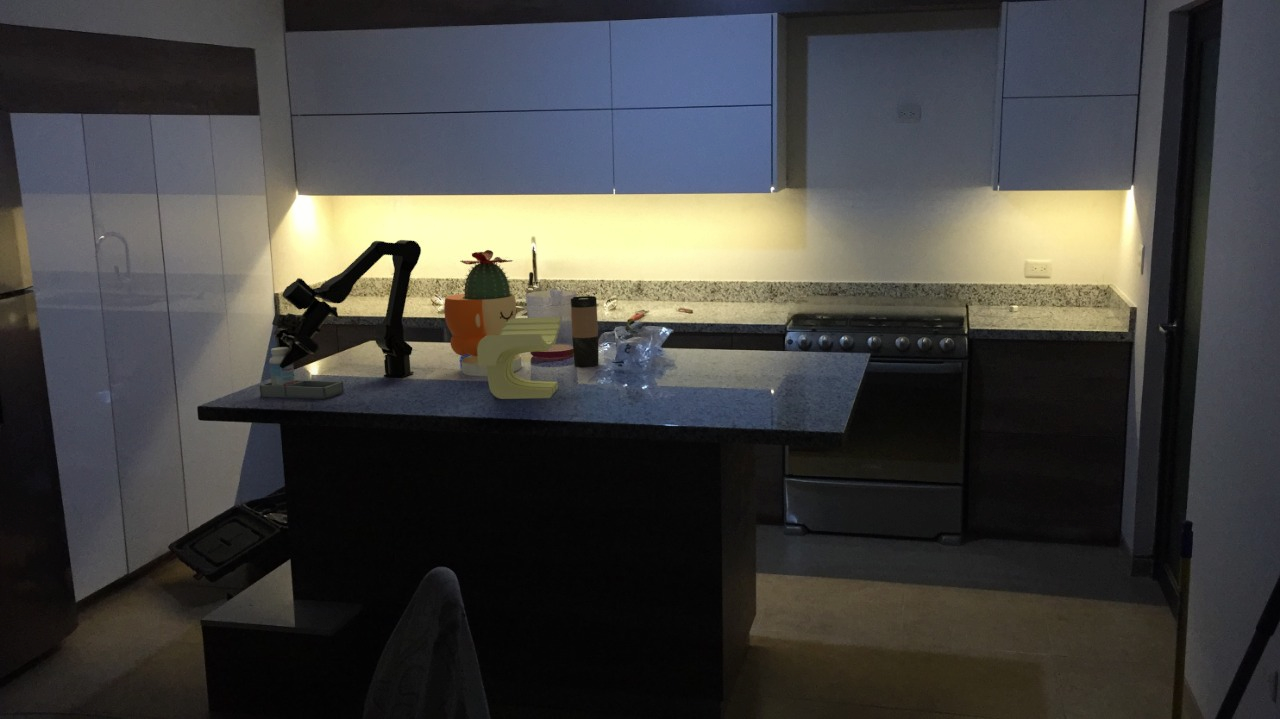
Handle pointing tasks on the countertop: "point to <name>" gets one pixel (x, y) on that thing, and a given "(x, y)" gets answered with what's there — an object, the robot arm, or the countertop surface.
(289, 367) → the pill bottle
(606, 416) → the countertop surface
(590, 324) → the travel mug
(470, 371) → the potted cactus
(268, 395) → the tray
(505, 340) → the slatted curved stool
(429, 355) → the countertop surface
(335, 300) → the robot arm
